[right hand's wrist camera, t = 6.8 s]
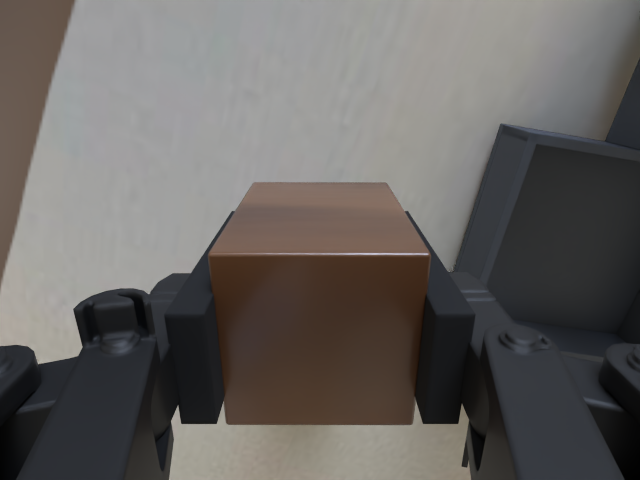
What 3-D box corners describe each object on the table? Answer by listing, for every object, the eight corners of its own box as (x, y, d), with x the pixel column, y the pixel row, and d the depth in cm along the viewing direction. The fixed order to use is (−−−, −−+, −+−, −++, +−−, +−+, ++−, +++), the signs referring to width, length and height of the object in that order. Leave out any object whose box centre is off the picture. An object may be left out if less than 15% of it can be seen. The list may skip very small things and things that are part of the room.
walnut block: (380, 300, 15) (413, 426, 10) (259, 299, 15) (225, 426, 10) (387, 182, 14) (432, 253, 8) (252, 181, 14) (206, 253, 8)
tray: (615, 336, 32) (664, 380, 28) (440, 311, 32) (461, 352, 27) (796, -15, 23) (913, -36, 19) (559, -63, 23) (620, -97, 18)
